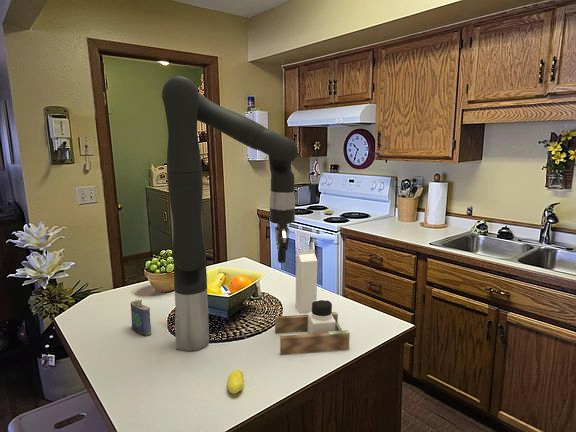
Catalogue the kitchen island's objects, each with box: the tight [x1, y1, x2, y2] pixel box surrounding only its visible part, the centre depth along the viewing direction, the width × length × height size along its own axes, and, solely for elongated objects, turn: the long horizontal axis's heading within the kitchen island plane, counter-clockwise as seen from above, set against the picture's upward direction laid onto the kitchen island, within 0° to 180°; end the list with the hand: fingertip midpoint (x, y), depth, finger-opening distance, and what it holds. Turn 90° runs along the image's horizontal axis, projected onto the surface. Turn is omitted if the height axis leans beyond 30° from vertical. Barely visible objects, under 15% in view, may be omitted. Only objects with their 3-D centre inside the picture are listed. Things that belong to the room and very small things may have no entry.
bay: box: [274, 311, 351, 356], centre depth 118 cm, size 20×14×5 cm
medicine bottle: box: [307, 298, 336, 334], centre depth 118 cm, size 7×7×12 cm
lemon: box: [226, 369, 245, 395], centre depth 95 cm, size 4×8×4 cm, turn 178°
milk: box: [295, 248, 318, 314], centre depth 138 cm, size 6×6×22 cm
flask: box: [130, 298, 152, 337], centre depth 122 cm, size 9×3×11 cm, turn 50°
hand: (281, 262), depth 119 cm, fingers closed
